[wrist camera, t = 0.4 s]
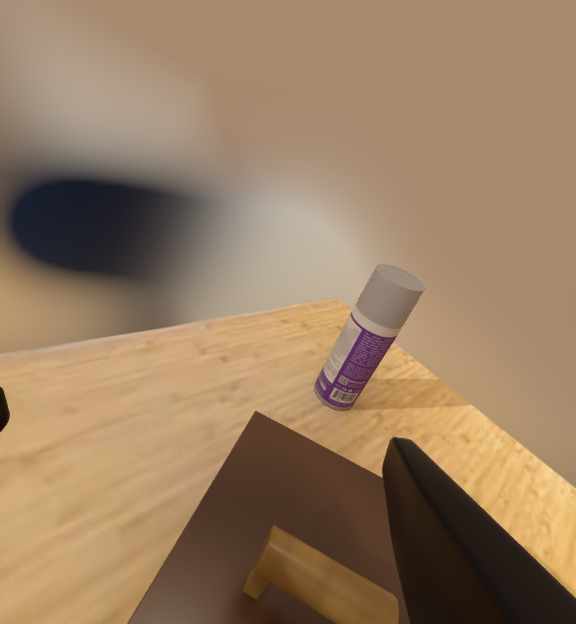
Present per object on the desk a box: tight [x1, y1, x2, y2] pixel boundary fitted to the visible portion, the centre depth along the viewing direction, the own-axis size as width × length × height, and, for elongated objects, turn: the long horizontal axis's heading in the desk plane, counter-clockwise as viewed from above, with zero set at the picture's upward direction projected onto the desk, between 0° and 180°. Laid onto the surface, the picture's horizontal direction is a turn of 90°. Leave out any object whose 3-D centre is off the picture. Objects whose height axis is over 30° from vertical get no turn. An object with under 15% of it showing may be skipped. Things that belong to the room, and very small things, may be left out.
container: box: [314, 264, 425, 410], centre depth 31 cm, size 5×5×15 cm
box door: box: [127, 411, 410, 624], centre depth 13 cm, size 14×12×5 cm
